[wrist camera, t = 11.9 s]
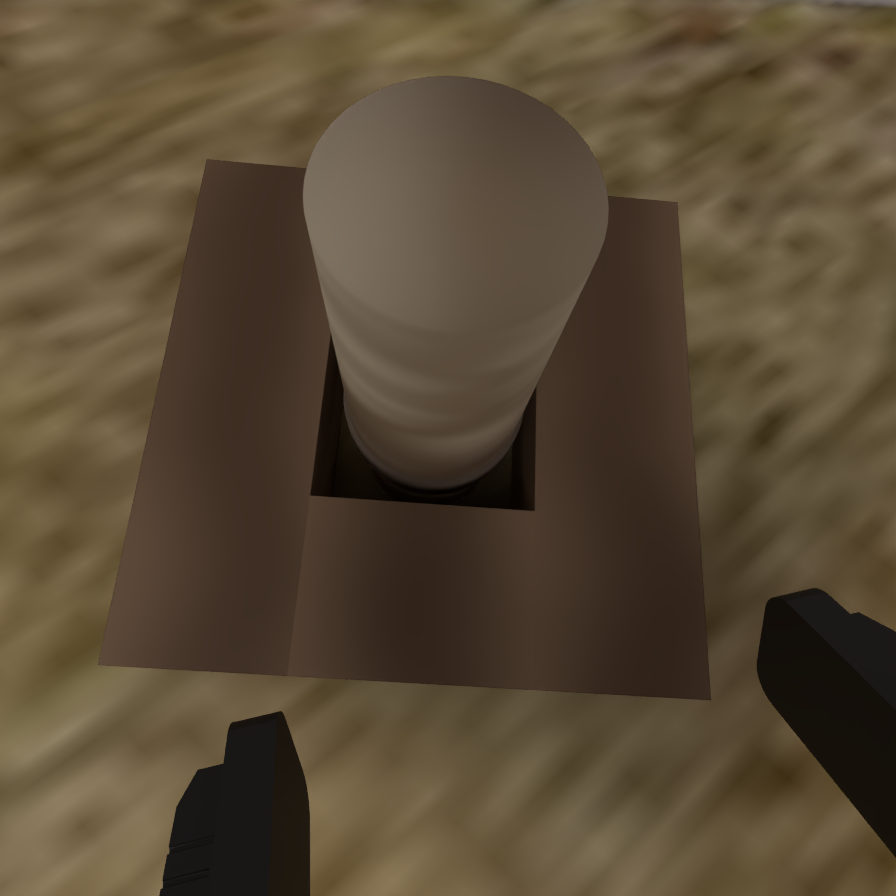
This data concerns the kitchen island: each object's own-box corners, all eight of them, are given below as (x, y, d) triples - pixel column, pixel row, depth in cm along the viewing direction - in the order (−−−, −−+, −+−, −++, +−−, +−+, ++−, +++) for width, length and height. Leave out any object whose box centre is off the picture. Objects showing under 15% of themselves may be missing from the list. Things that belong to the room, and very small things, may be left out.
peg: (349, 516, 20) (273, 321, 8) (363, 380, 21) (316, 57, 10) (497, 526, 20) (620, 350, 9) (501, 390, 21) (612, 86, 10)
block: (162, 663, 18) (97, 665, 14) (240, 243, 23) (206, 159, 19) (648, 691, 19) (710, 699, 15) (632, 277, 23) (677, 202, 19)
